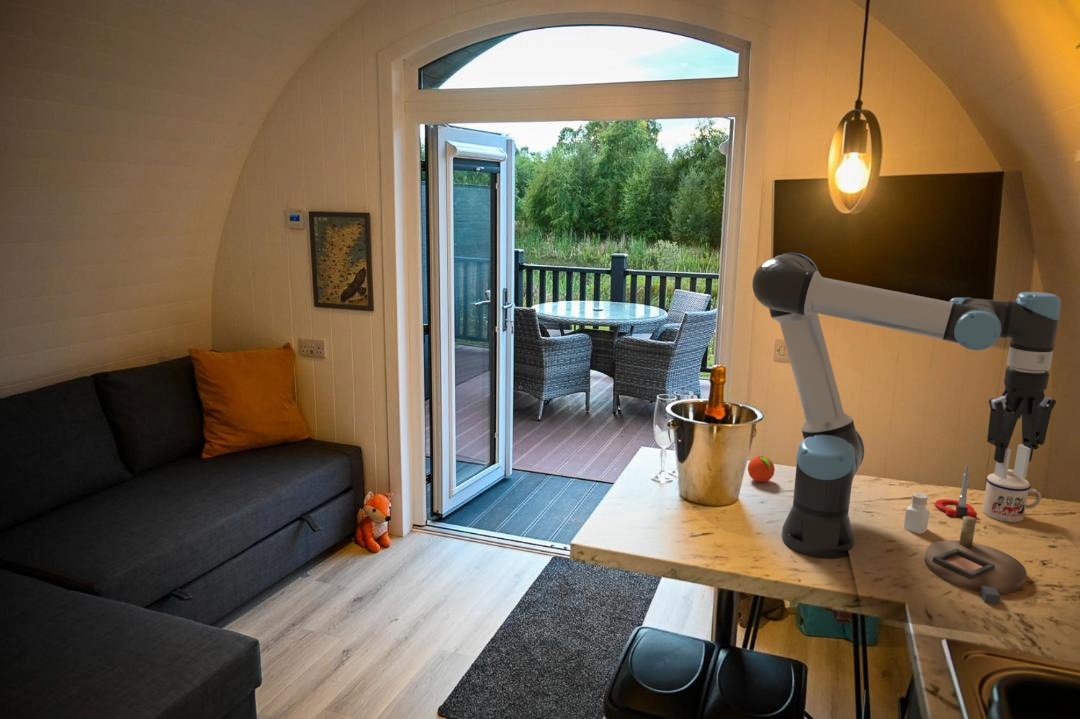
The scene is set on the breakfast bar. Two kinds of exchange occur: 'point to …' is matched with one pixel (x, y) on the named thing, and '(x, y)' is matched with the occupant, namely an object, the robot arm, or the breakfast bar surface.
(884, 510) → the breakfast bar surface
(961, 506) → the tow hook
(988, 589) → the charcoal grey block
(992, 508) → the teacup with lid
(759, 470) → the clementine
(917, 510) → the pepper shaker
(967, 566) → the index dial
